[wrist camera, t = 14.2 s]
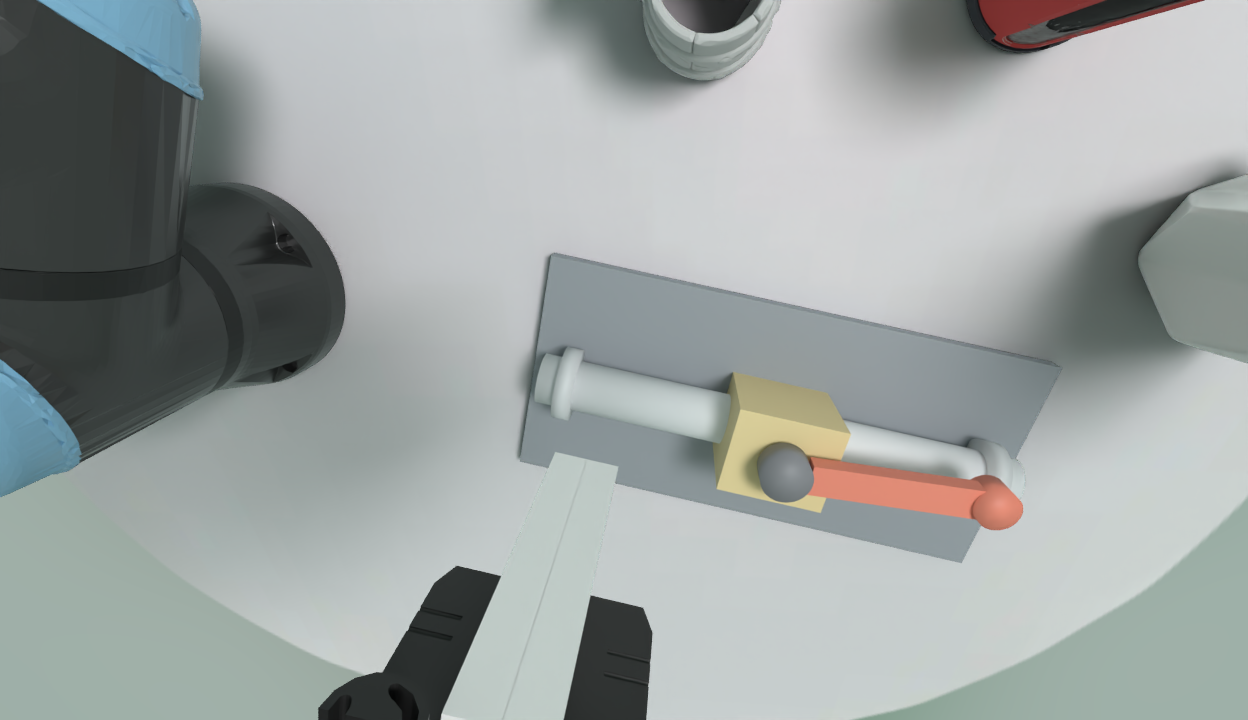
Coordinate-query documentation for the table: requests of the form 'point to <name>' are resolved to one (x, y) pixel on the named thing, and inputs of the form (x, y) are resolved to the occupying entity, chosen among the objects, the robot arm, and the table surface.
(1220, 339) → the vase
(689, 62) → the mug
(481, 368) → the table surface
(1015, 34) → the speaker
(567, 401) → the grey base plate
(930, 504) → the lever
